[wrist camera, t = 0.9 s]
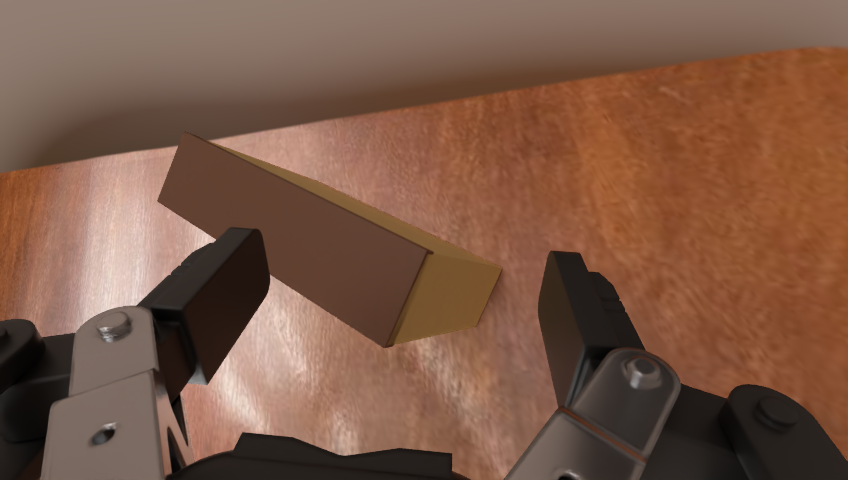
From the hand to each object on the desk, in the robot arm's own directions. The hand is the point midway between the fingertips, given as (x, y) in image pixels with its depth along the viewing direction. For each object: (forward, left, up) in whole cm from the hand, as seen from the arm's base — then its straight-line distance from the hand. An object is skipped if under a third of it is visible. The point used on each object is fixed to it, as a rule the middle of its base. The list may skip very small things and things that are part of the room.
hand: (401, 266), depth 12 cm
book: (+7, -6, -15) cm, 17 cm away
